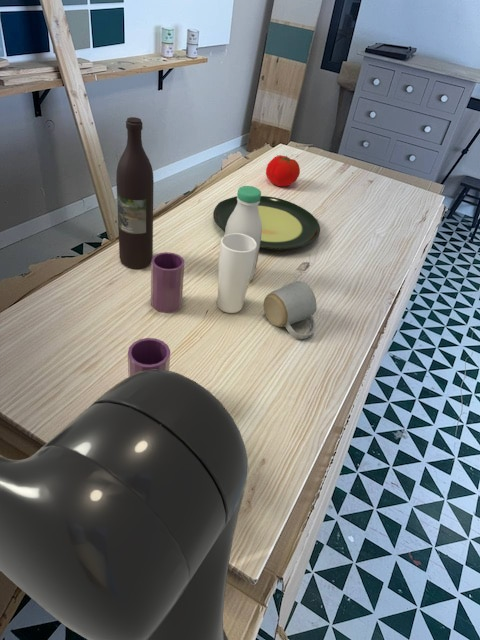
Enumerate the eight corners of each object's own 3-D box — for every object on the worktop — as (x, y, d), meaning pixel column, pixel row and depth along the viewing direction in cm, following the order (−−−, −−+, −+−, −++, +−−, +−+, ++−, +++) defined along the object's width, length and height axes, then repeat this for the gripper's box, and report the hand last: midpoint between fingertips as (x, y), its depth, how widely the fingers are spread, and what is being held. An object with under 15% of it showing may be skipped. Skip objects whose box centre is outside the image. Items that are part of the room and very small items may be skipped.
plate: (195, 236, 113) (195, 227, 112) (233, 193, 134) (234, 185, 133) (305, 269, 109) (308, 260, 107) (327, 219, 130) (329, 211, 128)
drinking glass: (249, 301, 97) (261, 238, 87) (241, 320, 92) (252, 255, 82) (218, 292, 97) (226, 229, 88) (208, 311, 92) (215, 246, 83)
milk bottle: (251, 287, 100) (267, 202, 88) (216, 280, 101) (226, 194, 88) (256, 268, 106) (271, 185, 93) (223, 261, 107) (233, 178, 94)
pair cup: (134, 415, 71) (133, 370, 65) (125, 387, 75) (123, 342, 69) (172, 406, 73) (175, 362, 67) (161, 379, 77) (163, 334, 71)
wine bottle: (113, 258, 102) (105, 115, 83) (139, 248, 106) (138, 111, 87) (132, 273, 99) (129, 128, 79) (159, 262, 103) (162, 123, 84)
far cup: (155, 315, 89) (156, 272, 83) (147, 296, 93) (147, 254, 87) (185, 310, 92) (188, 268, 85) (176, 292, 96) (178, 250, 89)
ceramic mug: (257, 314, 94) (264, 284, 89) (288, 302, 98) (296, 273, 93) (292, 347, 88) (301, 316, 83) (322, 333, 92) (333, 303, 87)
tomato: (261, 176, 146) (265, 150, 141) (292, 178, 149) (297, 152, 143) (267, 189, 140) (272, 162, 134) (300, 191, 142) (306, 164, 136)
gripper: (232, 497, 53) (206, 388, 64) (100, 518, 49) (98, 398, 61) (225, 528, 57) (202, 421, 69) (104, 549, 54) (102, 433, 65)
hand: (154, 411), depth 65 cm, fingers open, 8 cm apart
